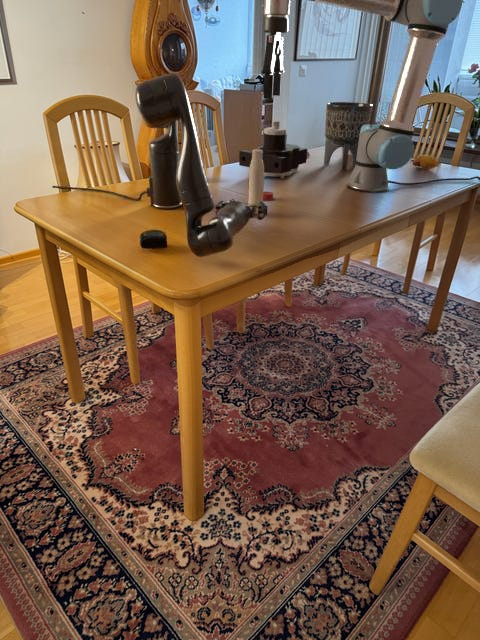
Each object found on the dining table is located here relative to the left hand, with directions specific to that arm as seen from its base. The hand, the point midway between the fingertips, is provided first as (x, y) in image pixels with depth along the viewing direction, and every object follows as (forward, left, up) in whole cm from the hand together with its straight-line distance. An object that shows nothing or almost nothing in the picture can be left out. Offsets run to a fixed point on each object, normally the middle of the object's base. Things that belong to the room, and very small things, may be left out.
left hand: (248, 203), depth 134 cm
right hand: (-1, +29, +27) cm, 39 cm away
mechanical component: (-5, +70, -6) cm, 71 cm away
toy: (+55, +107, -6) cm, 121 cm away
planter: (+18, +94, -6) cm, 96 cm away
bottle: (0, +9, -6) cm, 11 cm away
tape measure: (-17, -28, -6) cm, 33 cm away
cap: (-1, +29, -4) cm, 29 cm away
